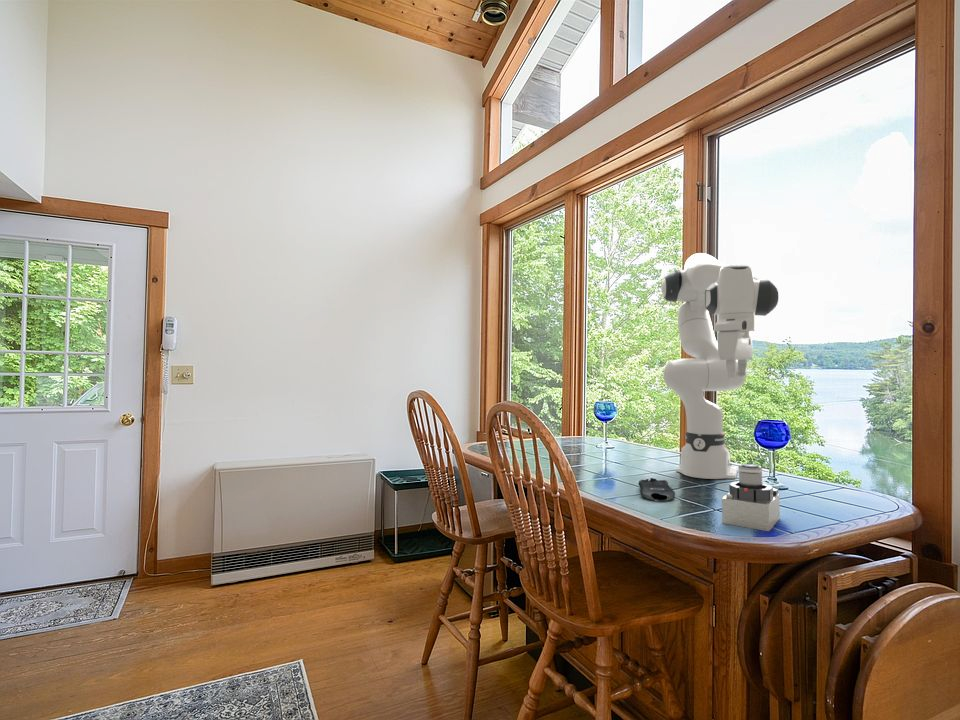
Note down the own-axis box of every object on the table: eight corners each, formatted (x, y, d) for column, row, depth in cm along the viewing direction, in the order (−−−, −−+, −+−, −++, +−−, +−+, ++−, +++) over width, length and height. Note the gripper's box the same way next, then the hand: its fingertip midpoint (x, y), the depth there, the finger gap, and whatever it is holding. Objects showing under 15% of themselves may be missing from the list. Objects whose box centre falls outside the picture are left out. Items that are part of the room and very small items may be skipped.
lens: (742, 492, 133) (741, 463, 133) (765, 495, 129) (764, 465, 129) (736, 496, 129) (735, 466, 129) (759, 499, 125) (758, 468, 125)
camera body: (736, 510, 137) (735, 476, 137) (780, 517, 131) (779, 482, 131) (722, 523, 127) (721, 486, 127) (769, 531, 121) (768, 492, 121)
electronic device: (635, 494, 162) (642, 500, 148) (637, 475, 163) (644, 479, 148) (667, 499, 161) (677, 505, 146) (669, 480, 161) (679, 485, 147)
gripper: (734, 327, 153) (734, 375, 153) (712, 324, 137) (713, 378, 137) (758, 326, 149) (759, 375, 149) (739, 323, 133) (740, 378, 133)
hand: (737, 377), depth 143 cm, fingers open, 8 cm apart
